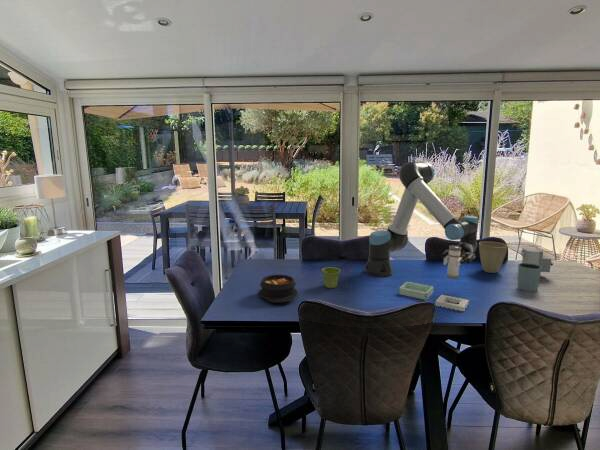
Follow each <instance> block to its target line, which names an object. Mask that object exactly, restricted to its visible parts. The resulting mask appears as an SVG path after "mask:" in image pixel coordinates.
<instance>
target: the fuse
mask: <svg viewBox="0 0 600 450" xmlns="http://www.w3.org/2000/svg"><path fill="white" fill-rule="evenodd" d="M448 251H449V258H448V263H447V271H446V272H447V273H446V278H448V279H450V280H458V279H459V278H460V277H459V276H460V274H459V272H460V266H459V267H456V265H457V260H458V259H459V258H460V253H461V247H460V246H457V245H456V244H455V245H453V244H452V245H449V246H448Z"/></svg>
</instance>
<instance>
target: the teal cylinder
mask: <svg viewBox="0 0 600 450" xmlns="http://www.w3.org/2000/svg"><path fill="white" fill-rule="evenodd" d="M517 268H518V269H517V270H518V272H517V288H518V289H520V290H521V291H524V292H537V291H538V288H539V283H540V282H539V281H540V278H541V274H542V272H541V266H539V265H535V264H530V263H522V262H521V263H518V265H517ZM540 273H541V274H540ZM539 277H540V278H539Z"/></svg>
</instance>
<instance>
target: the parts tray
mask: <svg viewBox="0 0 600 450" xmlns="http://www.w3.org/2000/svg"><path fill="white" fill-rule="evenodd" d="M433 293H434V286H433V285H427V284H421V283H416V282H412V281H406V282H404V283H403V284H402V285H401V286H399V288H398V295H402V296H407V297H412V298H415V299H421V300H424V301H425V300H428V298H430V297H431V296H432V295H433Z"/></svg>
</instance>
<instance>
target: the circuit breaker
mask: <svg viewBox="0 0 600 450" xmlns="http://www.w3.org/2000/svg"><path fill="white" fill-rule="evenodd" d="M521 249H522V250H521V253H520V256H521V257H522V260H521V263H530V264H535V265H539V266H541V273H540V275H541V274H542V273H550V272H551V266H554V263H553V262H552V258H551V257H549V256H547V255H546V254H544V251H542V250H541V249H540V248H535V247H532V248H531V247H522V248H521ZM539 279H541V276H540V277H539Z"/></svg>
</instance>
